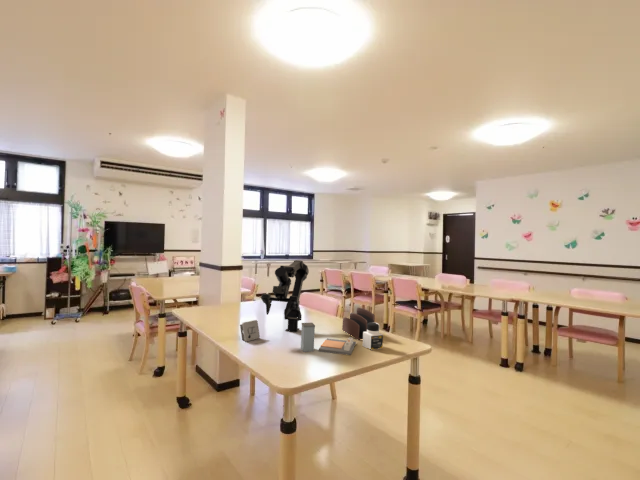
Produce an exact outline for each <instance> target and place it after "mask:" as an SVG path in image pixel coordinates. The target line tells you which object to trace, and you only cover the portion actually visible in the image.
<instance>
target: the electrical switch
mask: <svg viewBox="0 0 640 480" xmlns="http://www.w3.org/2000/svg"><path fill="white" fill-rule="evenodd" d="M258 321H259V320H257V319H253V320H250V321H244V322H241V323H242V324H239V326H240V327H239V328H240V334H241V341H244V342H251V341H253V340H257V339H260V337H261V336H260V328H259V322H258Z"/></svg>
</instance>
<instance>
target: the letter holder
mask: <svg viewBox="0 0 640 480" xmlns="http://www.w3.org/2000/svg"><path fill="white" fill-rule="evenodd" d="M369 322H375V323H376V321H375V314H374V313H372V312H371V311H370V310H367V309H365V308H363V307H357V308H356V313H355V312H350V313H349V317H346V316H345V317H343V318H342V326H341V327H342V328H341V329H342V330H343V331H342V330H341V331H342V332H344V331H345V332H344V333H346V332H347V333H348V335H349V334H350V335H349V336H351V335H352V336H353V337H352V336H351V337H352V338H354V337H355V338H354V339H355V340H357V339H358V340H357V341H361V340H360V339H363V332H366V331H367V324H368V323H369ZM347 333H346V334H347Z"/></svg>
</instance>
